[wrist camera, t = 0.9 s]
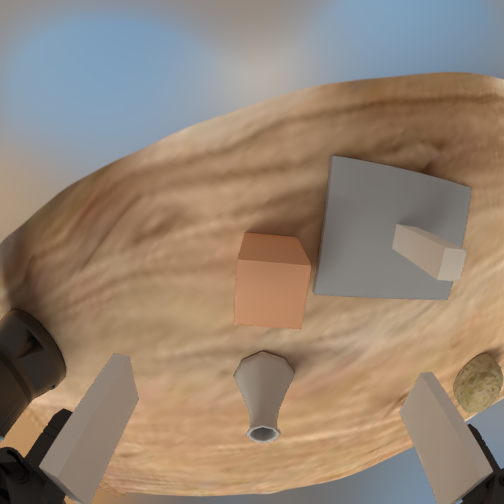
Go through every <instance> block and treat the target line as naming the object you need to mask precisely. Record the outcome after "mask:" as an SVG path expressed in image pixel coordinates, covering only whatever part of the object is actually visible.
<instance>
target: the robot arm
mask: <svg viewBox="0 0 504 504" xmlns="http://www.w3.org/2000/svg"><path fill="white" fill-rule="evenodd" d="M64 377H65V365H64V361H63V359H62V356H61V354H60V352H59V350H58V348H57V346H56V344H55V343H54V341H53V339H52V338H51V337H50V335H49V334H48V333H47V331H46V330H45V329H44V328H43V327H42V325H41V324H40V323H39V322H38V321H37V320H35V319H34V318H33V317H32V316H31V315H29V314H28V313H26V312H24V311H22V310H18V309H15V310H12V311H10V312H9V313H7V314H6V315H5V316H4V317H3V318H2V319H1V321H0V442H1V441H2V440H4V437H5V435H6V434H7V432H8V431H9V430H10V429H11V427H12V426H13V424H14V423H15V422H16V420H17V419H18V418H19V417H20V415H21V414H22V413H23V411H24V410H25V409H26V408H27V406H28V405H29V404H30V403H31V401H32V400H33V399H35V398H36V397H38V396H40V395H42V394H44V393H46V392H47V391H49V390H52V389H54V388H56V387H57V386H58V385H59V384H60V382H61V381H62V380H63V379H64ZM138 400H139V398H138V393H137V389H136V385H135V381H134V376H133V371H132V367H131V362H130V357H129V356H124V355H120V354H116V353H114V354H113V356H112V357H111V358H110V360H109V361H108V363H107V364H106V365H105V367H104V368H103V370H102V371H101V372H100V374H99V375H98V377H97V378H96V379H95V381H94V382H93V384H92V385H91V387H90V388H89V389H88V391H87V392H86V394H85V395H84V397H83V398H82V400H81V401H80V403H79V404H78V406H77V407H76V409H75V410H74V412H71V411H69V410H66V409H62V410H61V411H59V412H58V413H56V414H55V415H54V416H53V417H52V418H51V420H50V421H49V423H48V426H46V427H45V429H44V430H43V433H41V434H40V436H39V437H38V439H37V440H36V442H35V443H34V445H33V446H32V448H31V450H30V451H29V453H28V454H27V456H26V457H25V458H23V457H22V455H21V454H20V453H19V452H18V451H17V450H15V449H14V448H11V447H4V448H0V504H66V503H65V501H64V498H65V495H67V496H68V497H69V498H70V499H71V500H72V501H74V502H76V503H79V504H91V503H92V501H93V498H94V496H95V493H96V491H97V489H98V487H99V484H100V482H101V480H102V477H103V475H104V473H105V471H106V468H107V466H108V464H109V462H110V459H111V457H112V455H113V453H114V451H115V449H116V446H117V444H118V442H119V440H120V438H121V436H122V433H123V431H124V429H125V427H126V425H127V423H128V421H129V419H130V417H131V415H132V412H133V410H134V408H135V406H136V404H137V402H138ZM399 413H400V415H401V417H402V420H403V422H404V424H405V426H406V428H407V431H408V433H409V435H410V437H411V440H412V442H413V444H414V446H415V449H416V451H417V453H418V456H419V458H420V461H421V463H422V465H423V468H424V470H425V473H426V475H427V478H428V480H429V483H430V485H431V488H432V491H433V493H434V496H435V499H436V501H437V504H456V503H457V502H458V501H459V500H461V499H462V500H463V502H462V503H461V504H504V468H503V469H500V468H499V466H498V464H497V462H496V461H495V459H494V457H493V455H492V454H491V452H490V450H489V449H488V447H487V446H486V443H485V442H484V440H482V437H481V435H480V433H479V432H478V430H477V429H476V428H474V427H473V426H472V425H471V424H468V425H467V424H466V423H465V421H464V419H463V418H462V416H461V415H460V413H459V412H458V410H457V408H456V407H455V405H454V404H453V402H452V401H451V399H450V398H449V396H448V395H447V393H446V392H445V390H444V389H443V387H442V386H441V384H440V383H439V381H438V380H437V378H436V377H435V376H434V374H433V373H432V372H426V373H420V374H419V376H418V378H417V380H416V382H415V384H414V386H413V388H412V390H411V392H410V394H409V395H408V397H407V399H406V401H405V403H404V404H403V406H402V408H401V410H400V411H399Z"/></svg>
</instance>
